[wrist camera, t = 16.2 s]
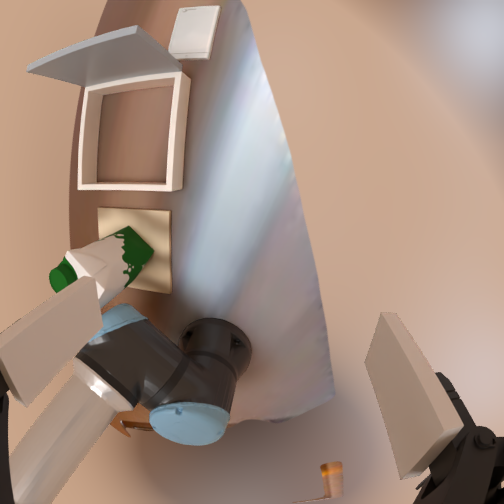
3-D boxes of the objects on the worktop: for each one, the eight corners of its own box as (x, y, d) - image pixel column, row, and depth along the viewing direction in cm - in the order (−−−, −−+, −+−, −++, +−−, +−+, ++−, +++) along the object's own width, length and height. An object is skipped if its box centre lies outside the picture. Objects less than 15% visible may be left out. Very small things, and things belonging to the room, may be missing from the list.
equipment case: (182, 188, 47) (117, 206, 27) (92, 187, 48) (15, 203, 28) (195, 45, 39) (148, -12, 19) (105, 60, 40) (37, 31, 20)
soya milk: (128, 218, 49) (57, 248, 30) (161, 251, 50) (101, 297, 31) (107, 250, 51) (41, 289, 32) (138, 281, 52) (80, 333, 33)
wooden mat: (172, 291, 53) (170, 294, 52) (106, 280, 54) (103, 282, 53) (171, 210, 48) (169, 211, 47) (100, 206, 49) (97, 207, 49)
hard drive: (178, 7, 35) (164, 59, 39) (220, 5, 35) (208, 57, 39) (181, 11, 37) (168, 62, 41) (221, 9, 36) (210, 61, 40)
